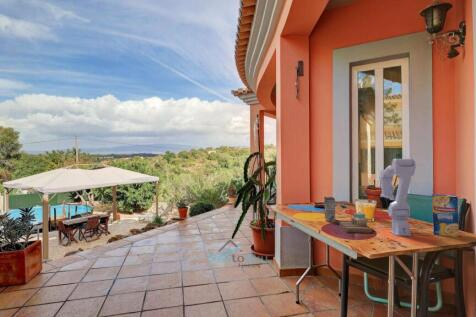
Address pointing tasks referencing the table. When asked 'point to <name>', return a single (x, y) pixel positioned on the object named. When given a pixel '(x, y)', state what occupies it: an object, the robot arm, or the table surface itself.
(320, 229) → the table surface
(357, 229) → the dock
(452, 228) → the blue cereal box
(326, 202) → the coffee box
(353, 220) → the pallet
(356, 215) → the teal block
